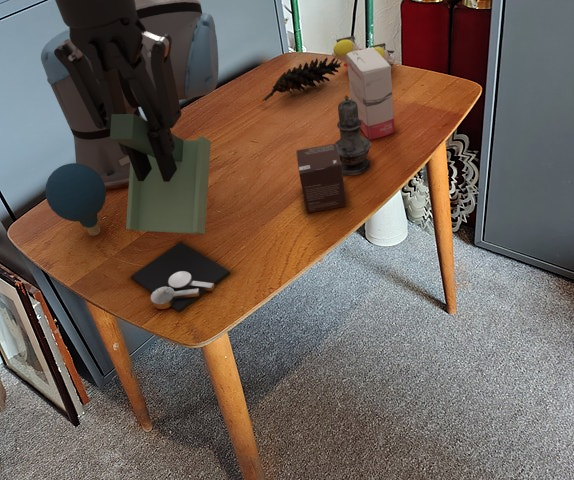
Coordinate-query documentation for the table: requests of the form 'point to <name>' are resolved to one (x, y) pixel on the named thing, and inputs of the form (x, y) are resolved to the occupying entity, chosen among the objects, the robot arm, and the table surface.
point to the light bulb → (77, 195)
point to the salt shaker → (351, 140)
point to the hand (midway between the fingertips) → (157, 174)
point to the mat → (175, 262)
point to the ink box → (371, 91)
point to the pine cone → (304, 76)
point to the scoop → (165, 195)
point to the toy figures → (349, 45)
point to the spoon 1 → (187, 282)
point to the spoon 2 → (170, 296)
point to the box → (321, 178)
